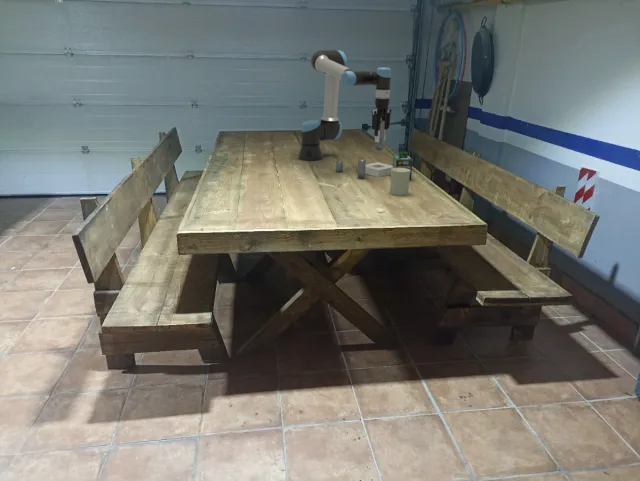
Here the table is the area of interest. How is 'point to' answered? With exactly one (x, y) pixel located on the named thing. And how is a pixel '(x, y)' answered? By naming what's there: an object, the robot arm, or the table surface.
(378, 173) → the socket block
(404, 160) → the chalk box
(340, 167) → the short pin
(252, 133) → the table surface
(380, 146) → the long pin
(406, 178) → the can
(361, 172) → the medium pin
